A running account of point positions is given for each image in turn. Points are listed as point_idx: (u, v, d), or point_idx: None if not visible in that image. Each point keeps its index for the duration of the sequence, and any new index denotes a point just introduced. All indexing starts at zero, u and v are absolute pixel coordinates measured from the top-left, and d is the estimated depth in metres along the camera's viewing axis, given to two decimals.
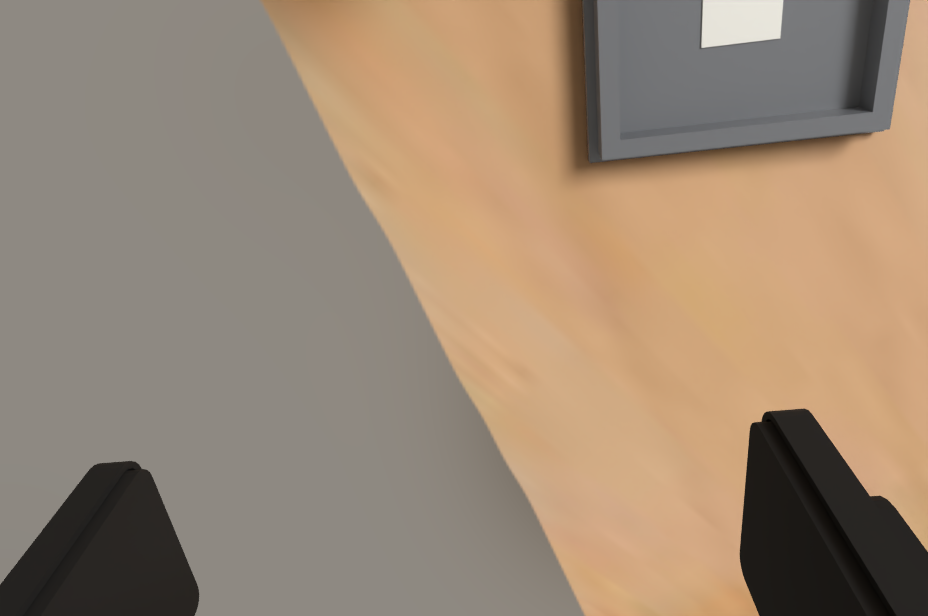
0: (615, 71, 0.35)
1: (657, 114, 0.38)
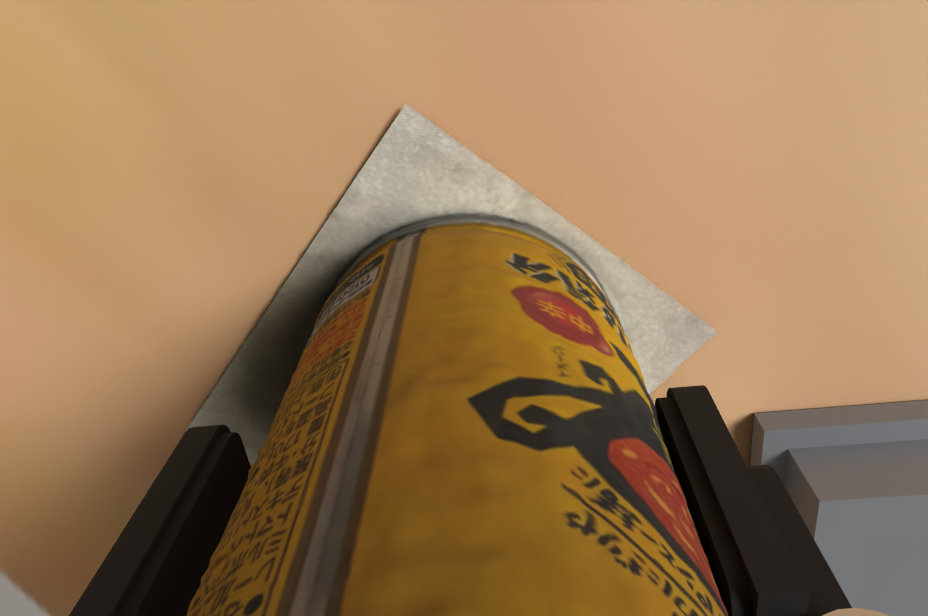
0: None
1: None
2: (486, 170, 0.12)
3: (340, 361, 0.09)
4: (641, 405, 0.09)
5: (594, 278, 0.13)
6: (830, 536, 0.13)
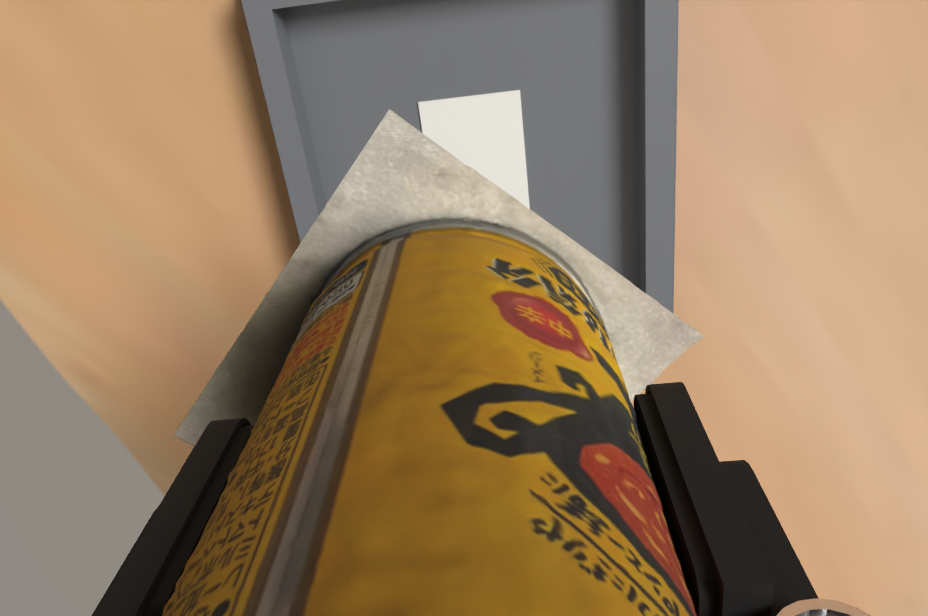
0: None
1: None
2: (470, 175, 0.12)
3: (319, 367, 0.09)
4: (619, 410, 0.09)
5: (579, 282, 0.13)
6: (252, 9, 0.24)
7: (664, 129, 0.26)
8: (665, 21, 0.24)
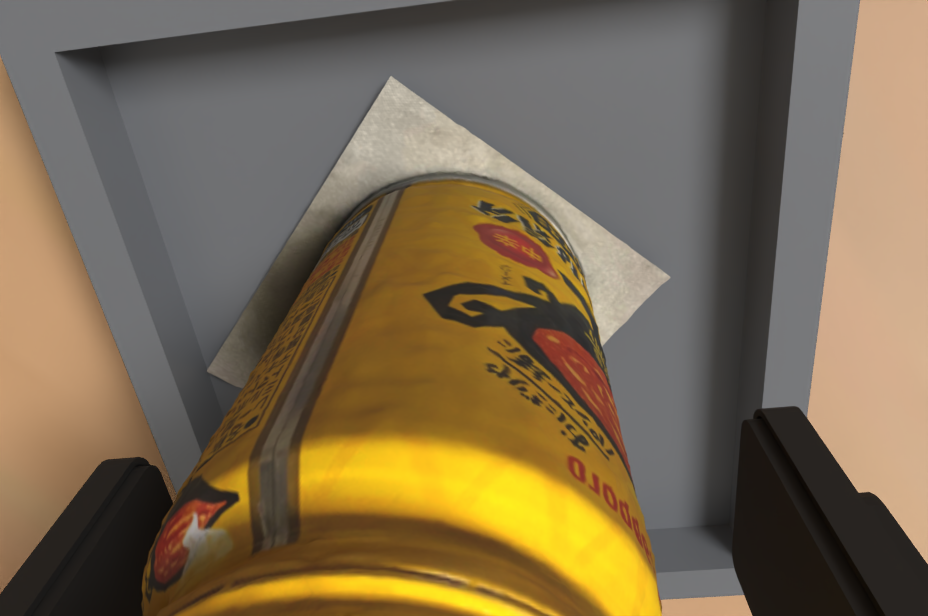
0: None
1: None
2: (461, 133, 0.14)
3: (328, 278, 0.11)
4: (577, 316, 0.11)
5: (558, 228, 0.15)
6: (16, 51, 0.12)
7: (810, 272, 0.14)
8: (832, 78, 0.12)
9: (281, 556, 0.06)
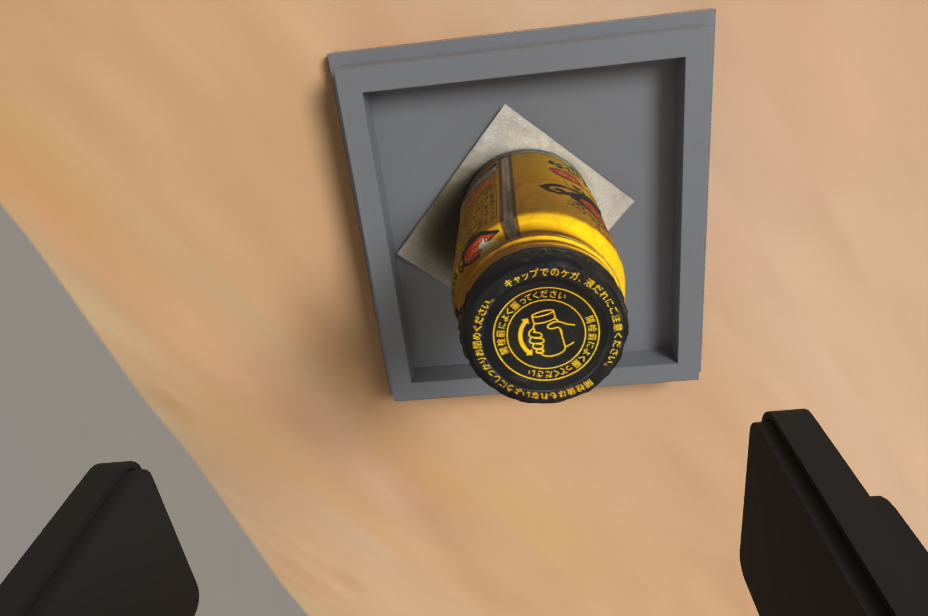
0: (396, 319, 0.33)
1: (456, 350, 0.35)
2: (536, 130, 0.30)
3: (492, 186, 0.27)
4: (593, 203, 0.27)
5: (580, 176, 0.30)
6: (345, 92, 0.28)
7: (698, 197, 0.30)
8: (702, 107, 0.28)
9: (519, 237, 0.22)
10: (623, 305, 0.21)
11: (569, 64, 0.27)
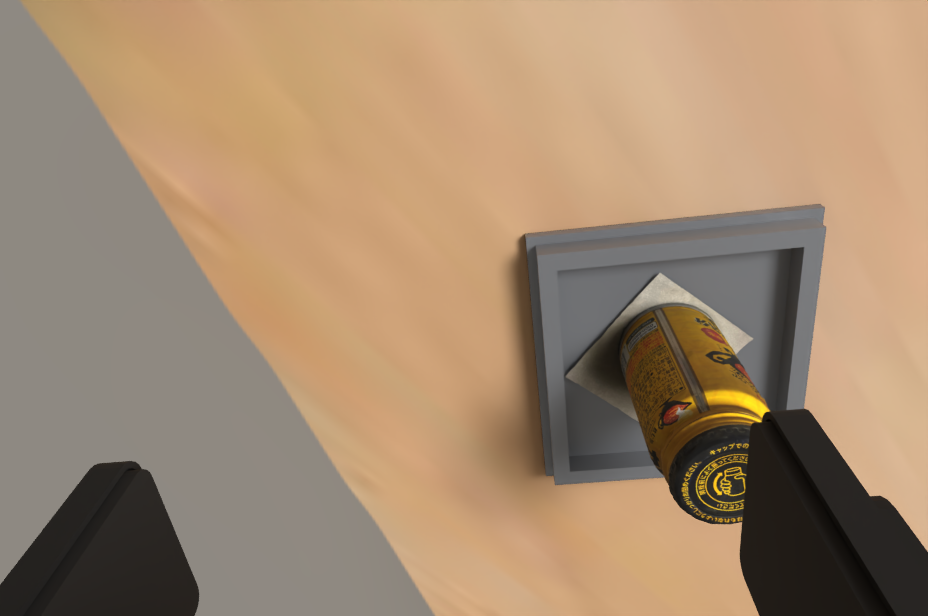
0: (563, 426, 0.42)
1: (602, 443, 0.44)
2: (681, 290, 0.39)
3: (663, 348, 0.36)
4: (737, 358, 0.36)
5: (713, 322, 0.40)
6: (543, 270, 0.37)
7: (806, 340, 0.39)
8: (814, 280, 0.37)
9: (710, 412, 0.31)
10: None
11: (716, 252, 0.37)
